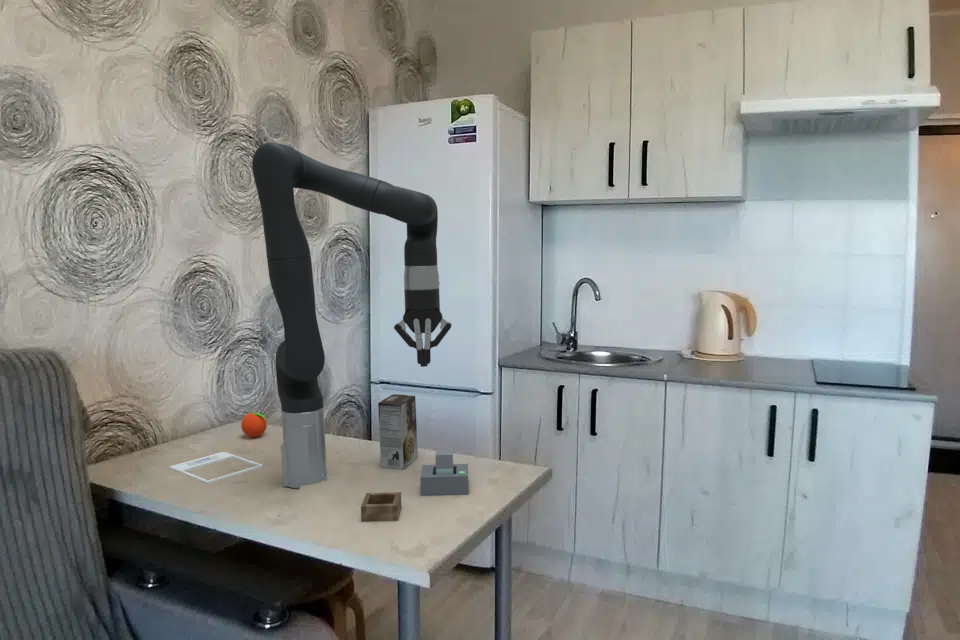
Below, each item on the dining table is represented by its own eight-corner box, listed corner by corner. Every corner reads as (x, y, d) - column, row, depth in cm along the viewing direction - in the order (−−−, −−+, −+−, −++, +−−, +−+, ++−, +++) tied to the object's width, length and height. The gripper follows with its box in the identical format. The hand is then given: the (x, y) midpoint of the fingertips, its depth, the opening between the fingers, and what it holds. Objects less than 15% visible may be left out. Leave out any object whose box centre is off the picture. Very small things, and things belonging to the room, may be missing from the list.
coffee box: (395, 456, 176) (392, 393, 174) (418, 457, 174) (416, 394, 172) (379, 467, 167) (376, 402, 165) (404, 469, 165) (401, 403, 163)
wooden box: (361, 526, 133) (360, 506, 133) (367, 512, 140) (366, 493, 140) (398, 525, 133) (397, 505, 133) (401, 511, 140) (400, 492, 140)
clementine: (275, 434, 198) (274, 410, 197) (260, 441, 191) (258, 416, 190) (252, 432, 200) (251, 408, 200) (236, 439, 194) (234, 414, 193)
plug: (436, 491, 148) (435, 455, 147) (437, 485, 151) (436, 450, 150) (453, 491, 148) (452, 454, 147) (453, 485, 152) (452, 449, 151)
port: (420, 500, 146) (420, 475, 145) (423, 486, 154) (422, 463, 153) (468, 499, 146) (467, 474, 145) (468, 485, 154) (467, 461, 153)
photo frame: (223, 450, 181) (262, 464, 170) (224, 454, 181) (263, 468, 170) (168, 465, 170) (206, 481, 159) (169, 470, 170) (207, 485, 159)
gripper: (388, 288, 146) (392, 370, 148) (451, 287, 146) (454, 368, 148) (392, 286, 153) (395, 363, 155) (452, 284, 153) (454, 362, 155)
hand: (424, 365), depth 151 cm, fingers closed
